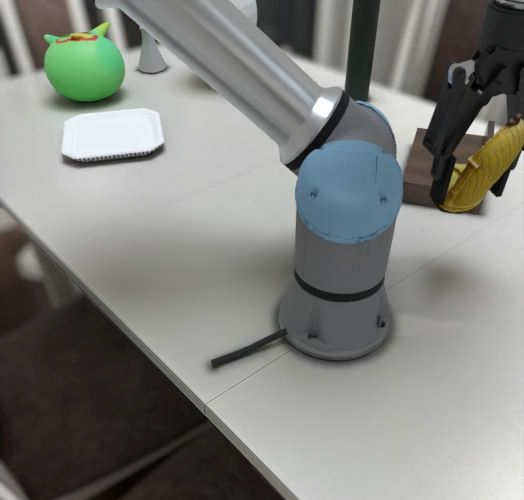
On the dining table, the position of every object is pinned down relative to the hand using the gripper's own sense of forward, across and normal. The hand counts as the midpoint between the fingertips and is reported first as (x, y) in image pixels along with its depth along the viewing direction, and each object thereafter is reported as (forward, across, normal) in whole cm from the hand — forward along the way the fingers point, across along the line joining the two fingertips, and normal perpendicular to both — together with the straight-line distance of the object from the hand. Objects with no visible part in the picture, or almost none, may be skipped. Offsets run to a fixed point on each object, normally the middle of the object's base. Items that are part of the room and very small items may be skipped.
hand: (465, 195), depth 72 cm
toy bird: (+14, -51, +83) cm, 98 cm away
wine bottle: (+13, +10, +65) cm, 67 cm away
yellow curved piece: (+2, 0, 0) cm, 2 cm away
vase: (+14, -18, +83) cm, 86 cm away
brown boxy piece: (+13, +13, +26) cm, 32 cm away
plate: (+14, -47, +58) cm, 76 cm away
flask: (+14, -35, +98) cm, 105 cm away
